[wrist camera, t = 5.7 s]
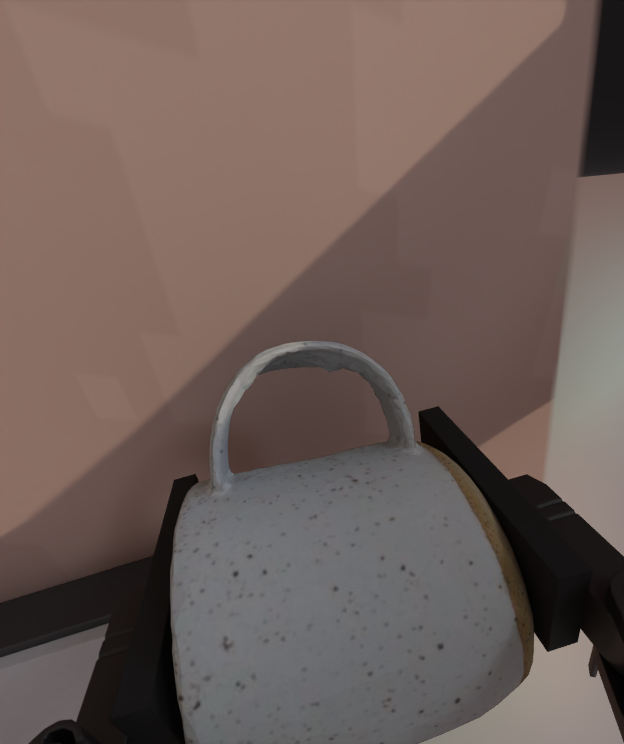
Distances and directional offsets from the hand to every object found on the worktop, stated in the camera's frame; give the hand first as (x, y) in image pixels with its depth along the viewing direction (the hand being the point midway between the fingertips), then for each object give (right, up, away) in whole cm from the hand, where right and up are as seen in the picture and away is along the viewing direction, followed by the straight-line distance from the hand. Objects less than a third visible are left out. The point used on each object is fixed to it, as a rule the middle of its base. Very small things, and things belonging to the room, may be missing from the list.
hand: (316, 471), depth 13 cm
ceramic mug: (0, 0, 0) cm, 1 cm away
